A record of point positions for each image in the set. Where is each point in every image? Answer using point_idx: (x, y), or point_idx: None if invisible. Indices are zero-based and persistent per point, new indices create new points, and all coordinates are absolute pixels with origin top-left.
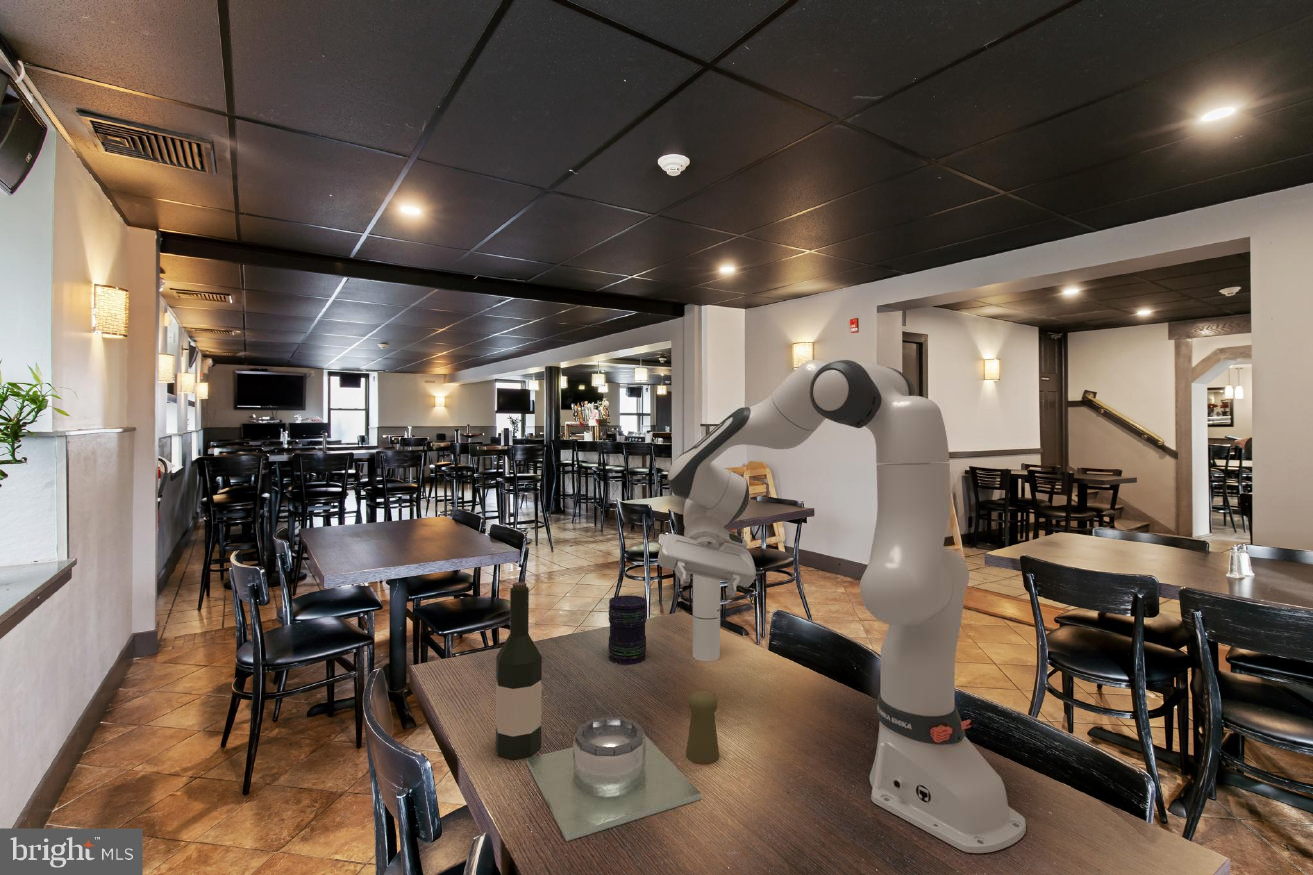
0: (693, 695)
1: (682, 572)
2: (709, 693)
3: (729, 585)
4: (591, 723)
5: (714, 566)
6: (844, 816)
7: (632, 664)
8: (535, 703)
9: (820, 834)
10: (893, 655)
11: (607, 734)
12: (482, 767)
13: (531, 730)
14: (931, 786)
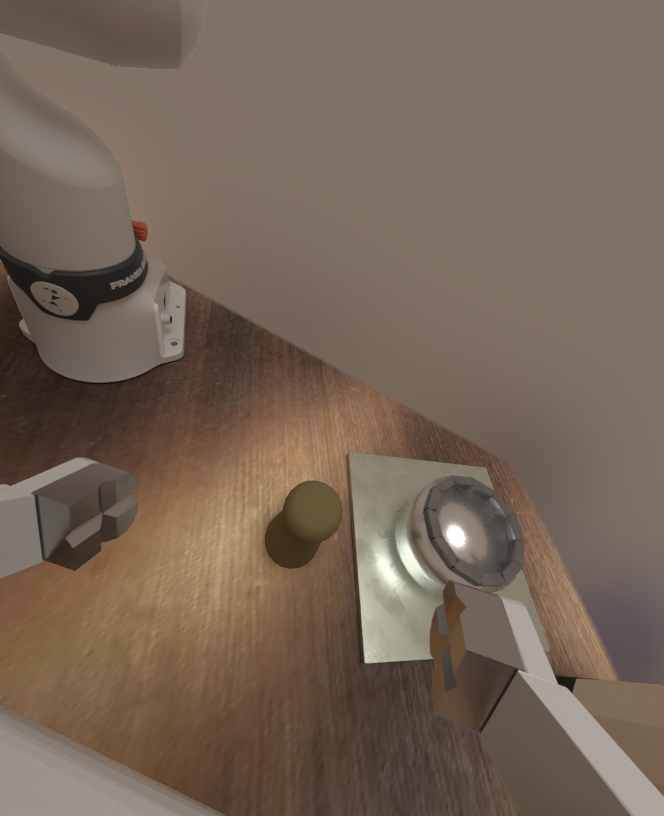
0: (336, 512)
1: (562, 687)
2: (303, 500)
3: (96, 486)
4: (503, 570)
5: (12, 715)
6: (230, 363)
7: None
8: (622, 697)
9: (272, 363)
10: (105, 161)
11: (473, 541)
12: (600, 673)
13: (579, 680)
14: (164, 285)
